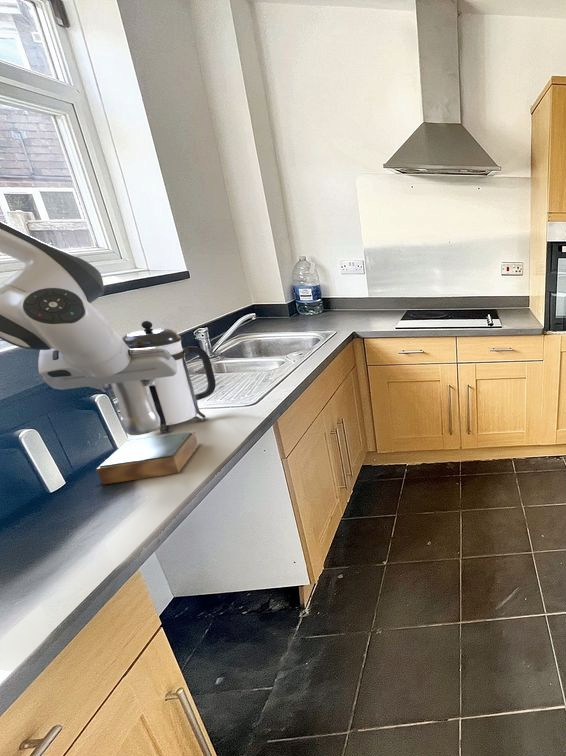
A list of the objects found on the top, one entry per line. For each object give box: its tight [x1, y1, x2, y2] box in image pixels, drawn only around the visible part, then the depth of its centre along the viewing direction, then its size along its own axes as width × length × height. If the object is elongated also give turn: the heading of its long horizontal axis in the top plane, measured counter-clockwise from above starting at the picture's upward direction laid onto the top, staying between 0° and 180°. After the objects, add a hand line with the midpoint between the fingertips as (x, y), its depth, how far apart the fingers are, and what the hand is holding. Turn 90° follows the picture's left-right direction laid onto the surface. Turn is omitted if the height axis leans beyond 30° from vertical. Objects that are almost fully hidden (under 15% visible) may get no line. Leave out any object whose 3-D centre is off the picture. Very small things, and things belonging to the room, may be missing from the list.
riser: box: [95, 431, 199, 485], centre depth 98 cm, size 14×14×4 cm
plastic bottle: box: [109, 348, 160, 436], centre depth 93 cm, size 6×7×20 cm
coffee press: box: [121, 320, 217, 434], centre depth 117 cm, size 17×16×30 cm
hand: (129, 385), depth 93 cm, fingers closed on plastic bottle, 6 cm apart
